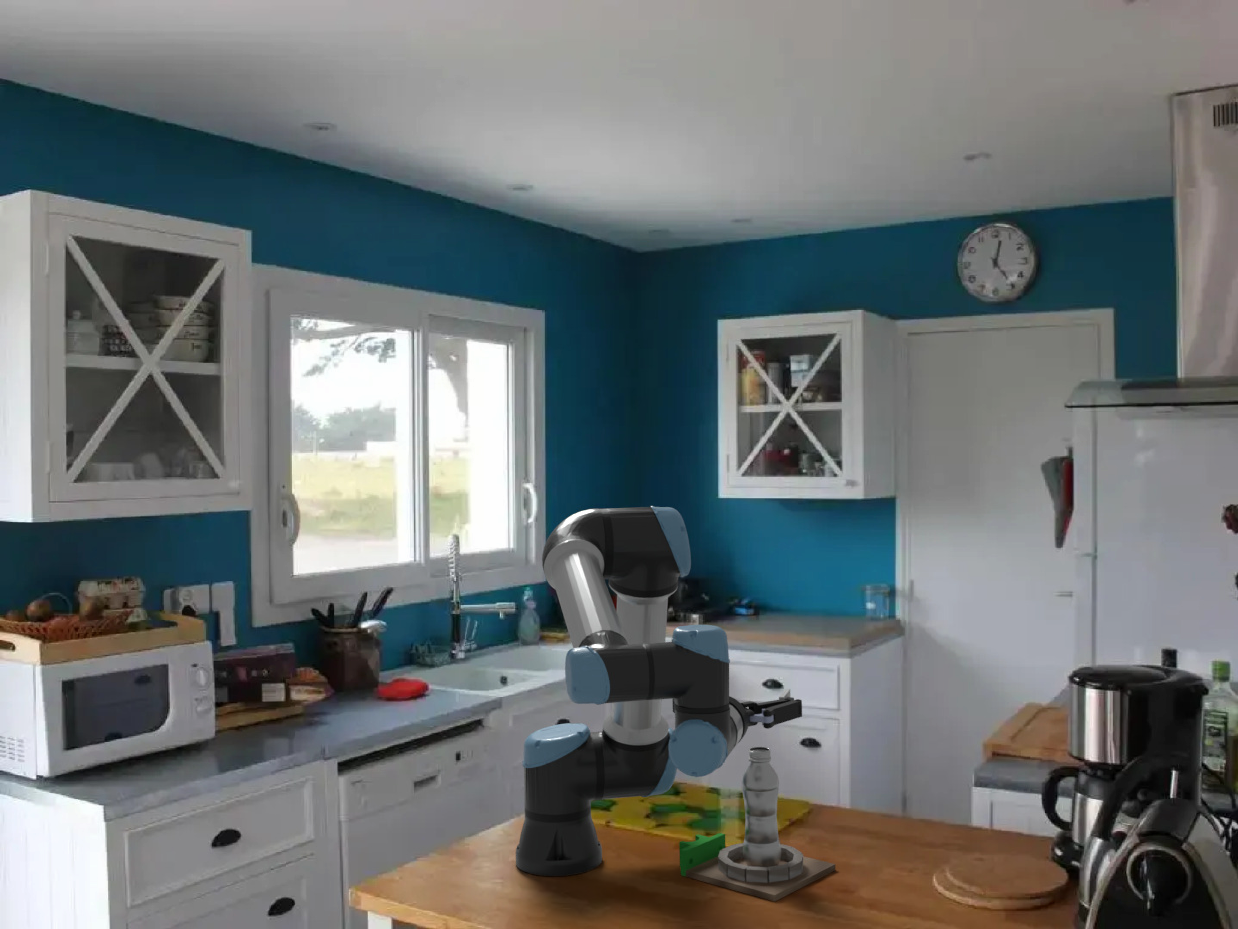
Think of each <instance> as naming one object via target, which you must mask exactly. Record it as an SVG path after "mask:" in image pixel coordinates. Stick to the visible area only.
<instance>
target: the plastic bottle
mask: <svg viewBox="0 0 1238 929" xmlns="http://www.w3.org/2000/svg"><path fill="white" fill-rule="evenodd" d="M771 761H772V757H771V749H770V747H768V746H767V747H766V746H754V747H753V746H752V747H750V748H749V749H748V762H749V764H748V765H747V767H746V769H745V770H744V772H743V774H742V776H741V779H740V780H741V791H742V795H743V802H744V804H743V805H744V811H745V814H744V815H745V824H744V827H745V828H744V840H743V842H742V843H743V857H744V861H745V863H746V864H747V866H752V867H771V866H778V864H779V862H780V859H781V847H780V844H781V843H780V838H779V832H778V831H779V830H778V829H779V828H778V820H777V816H778V814H777V812H778V799H779V790H780V788H779V787H780V779H779V776H778V773H777V772H776V770H775V769H774V768H773V766H772V765H771V763H770V762H771Z"/></svg>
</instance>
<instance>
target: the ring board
mask: <svg viewBox="0 0 1238 929" xmlns="http://www.w3.org/2000/svg"><path fill="white" fill-rule="evenodd" d="M743 843H744V842H742V843H740V842H739V843H734V844H731V845H729V846H725V848H724V849H722V850H720V853H719V856H718V857H715V858H713V859H711V860H709V861H706V862H704V863H702V864H699V865H697V866H695V867H693V868H690V869H688V870H686V877H687V878H689V879H693V880H697V881H700V882H704V883H707V884H711V885H715V886H718V887H721V888H726V889H729V890H733V891H737V892H740V893H743V894H747V895H752V896H754V897H758V898H761V899H764V900H768V901H771V902H777V901H778V900H780V899H783V898H784V897H786V896H788V895H790V894H792V893H794V892H797V890H800V889H801V888H803V887H806V886H807V885H810V884H811V883H813V882H815V881H817V880H819V879H821V878H823V877H825V876H827V875H828V874H830V873H833V872H834V871H836V864H835V863H832V862H829V861H823V860H820V859H815V858H812V857H808V856H804V853H802V852H801V851H800V850H798V849H797V848H796V847H793V846H791V845H786V844H781V843H780V847H781V859H780V862H779V864H778V866H771V867H752V866H747V864H746V863H745V861H744V857H743Z"/></svg>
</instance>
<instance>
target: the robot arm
mask: <svg viewBox="0 0 1238 929" xmlns="http://www.w3.org/2000/svg"><path fill="white" fill-rule="evenodd" d="M691 556H692V555H691V546H690V540H689V536H688V532H687V528H686V524H685V521H684V519H683V516H682V514H681V513H680V512H679V511H678V510H677V509H675V508H674V507H669V506H665V507H664V506H663V507H660V506H654V505H650V506H645V507H644V506H640V507H620V508H619V507H618V508H616V507H615V508H588V509H587V508H586V509H585V510H580V511H578V512H575V513H573V514H571V515H570V516H569V515H568V517H566V518H565V519H563V520H562V521H561V522H560V523H559V524H558V525H557V526H556V527H555V528H554V529H553V531H551V533H550V534H549V536H548V537H547V539H546V541H545V544H544V546H543V550H542V555H541V566H542V569H543V570H542V571H543V574H544V577H545V580H546V582H548V585H549V586H550V587H552V588H553V589H554V590H555V592H556V595H557V598H558V601H559V604H560V607H561V612H562V614H563V619H564V621H565V625H566V627H567V631H568V636H569V639H570V641H571V645H572V648H571V649H569V650H568V651H567V653H566V656H565V661H564V662H565V663H564V665H565V666H564V671H565V672H564V674H565V684H566V692H567V695H568V697H569V699H570V702H573V703H575V704H578V705H579V704H580V705H582V704H585V705H586V704H589V705H590V704H594V705H604V704H611V705H612V706H611V709H612V710H611V712H610V713H609V714H608V715H607V716H605V717H604V719H603V722H602V731H591V729H590V728H589V726H588V725H587V724H585V723H579V722H577V723H576V722H575V723H574V722H573V723H571V722H569V723H560V724H554V725H549V726H545V727H543V728H540V729H537V730H535V731H534V732H532V733H531V734H529V735H528V736H527V737H526V739H525V740H524V743H523V755H522V756H523V757H522V767H523V786H524V787H523V789H524V790H523V791H524V792H523V793H524V794H523V796H524V798H523V799H524V821H523V824H522V827H521V832H520V836H519V843H518V844H517V846H516V848H515V866H516V867H517V868H518V869H519V870H521V871H522V872H525V873H529V874H532V875H536V876H545V877H546V876H547V877H562V876H563V877H564V876H565V877H566V876H571V875H572V876H573V875H578V874H582V873H586V872H589V871H591V870H594V869H595V868H597V867H599V865H601V863H602V861H603V847H602V843H601V842H600V841H599V839H598V838H599V837H598V835H597V834H598V833H597V831H596V826H595V824H594V820H593V818H592V809H591V808H592V803H591V802H592V801H596V800H598V801H599V800H601V801H602V800H611V799H612V800H613V799H621V798H633V797H634V798H636V797H642V798H648V797H650V796H655V795H656V796H657V795H663V794H665V793H666V792H669V790H670V789H671V788H672V786H673V785H674V782H675V780H676V775H677V771H678V770H679V771H680V772H681V773H682V774H685V775H686V776H689V777H690V776H691V777H694V778H697V777H698V778H701V777H705V776H708V775H710V774H712V773H713V772H715V771H717V769H720V768H721V767H722V766H723V765H724V763H725V761H726V760H727V759H728V756H729V755H730V754H731V753H732V751H733V750H734V749H735V747H737V745H738V744H739V743H740V742H741V741H742V740H743V738H744V737H745V735H746V734H747V731H748V729H749V727H752V726H757V725H758V723H761V725H762V727H763V729H771V728H773V727H774V726H777V725H779V724H782V723H785V722H786V723H787V722H789V721H793V720H795V719H799V718H802V717H803V703H802V702H803V701H802V699H799V698H798V699H795V698H794V697H791V688H784V690H783V692H782V693H781V694H780V695H779V696H778V699H773V700H770V701H769V700H768V701H764V702H763V701H762V702H756V701H750V700H749V701H743V702H740V701H739V700H738V699H736V698H734V697H732V696H730V662H731V660H730V656H729V653H730V652H729V643H728V635H727V632H726V631H725V630H724V628H722V627H720V626H718V625H711V624H688V625H681V626H677V627H675V629H673V631H672V637H671V641H667V642H666V639H667V638H666V634H667V633H666V632H667V621H668V620H667V619H668V603H669V598H670V597H671V595H673V594H674V593H675V592H676V591H677V590H678V588H679V577H680V578H684V577H687V576H688V575H689V574H690V570H691V566H692V559H691ZM606 580H608V586H607V584H606ZM608 587H609V588H610V589H611V591H613V592H614V593H615V594H616V607H615V604H614V602H613V599H612V597H611V594H610V591H609V588H608ZM663 700H672V712H673V713H674V725H675V726H674V728H675V729H674V730H673V728H672V727H670V726H669V722H668V721H667V719H666V718H665V717H663V715H662V702H663Z"/></svg>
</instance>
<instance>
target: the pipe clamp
mask: <svg viewBox="0 0 1238 929" xmlns="http://www.w3.org/2000/svg"><path fill="white" fill-rule="evenodd" d="M694 839H695V840H693V841H684V840H681V841H679V842H678V844H679V845H678V846H679V847H678V848H679V868H680V876H681V877H686V870H688V869H690V868H693V867H695V866H697V865H699V864H702V863H704V862H706V861H709V860H711V859H713V858H715V857H718V856H719V853H720V850H722V849H724V848H726V834H725V833H722V832H719V833H717V834H714V835H712V836H707V835H706V836H705V835H702V834H699V833H698V834H695V837H694Z"/></svg>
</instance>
